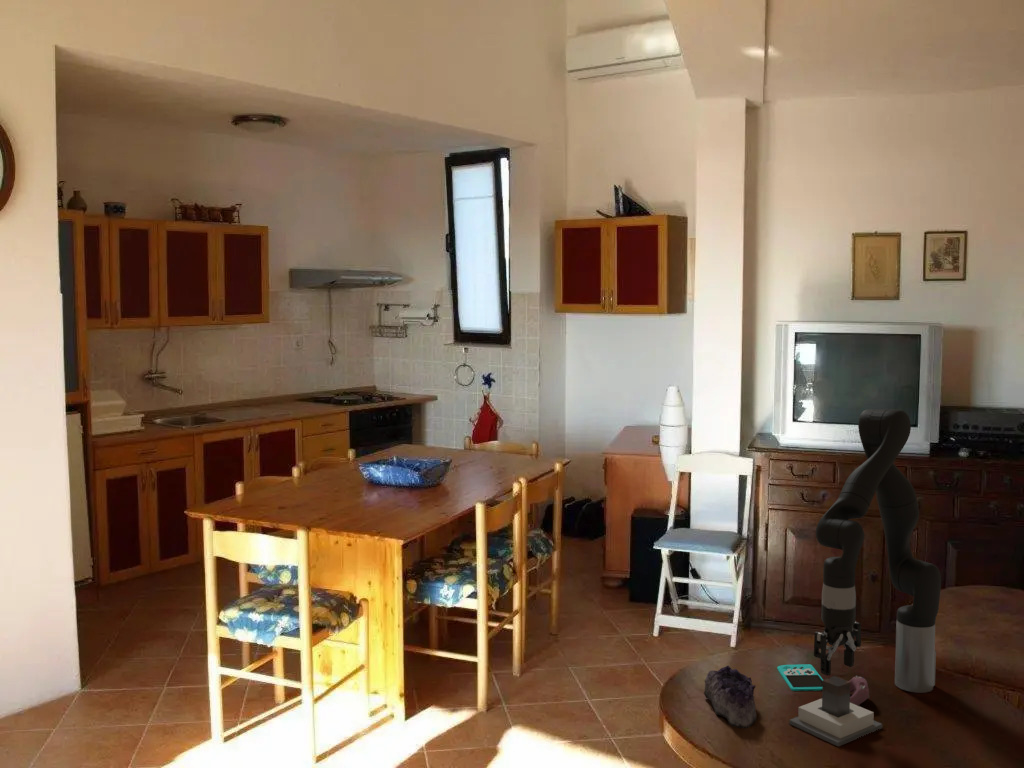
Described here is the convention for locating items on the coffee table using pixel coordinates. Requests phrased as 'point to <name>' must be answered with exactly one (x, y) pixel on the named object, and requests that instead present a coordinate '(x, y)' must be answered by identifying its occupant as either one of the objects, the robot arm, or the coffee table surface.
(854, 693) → the video game controller
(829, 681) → the plug
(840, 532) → the robot arm
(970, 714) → the coffee table surface
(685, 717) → the coffee table surface
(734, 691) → the geode
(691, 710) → the coffee table surface
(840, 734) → the socket
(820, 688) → the handheld game console
